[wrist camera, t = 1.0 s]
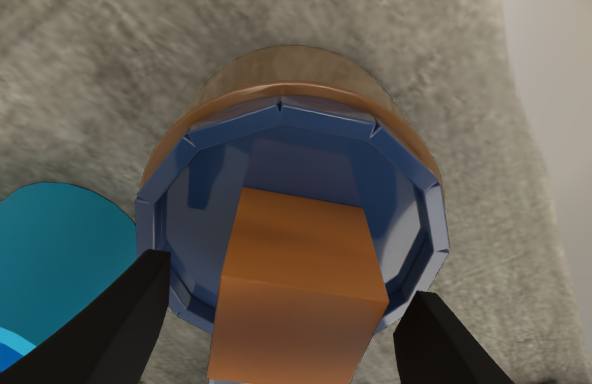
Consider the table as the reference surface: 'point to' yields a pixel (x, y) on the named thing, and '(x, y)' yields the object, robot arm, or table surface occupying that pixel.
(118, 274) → the mug
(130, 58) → the table surface
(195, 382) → the table surface
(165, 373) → the table surface
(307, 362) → the block
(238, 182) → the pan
